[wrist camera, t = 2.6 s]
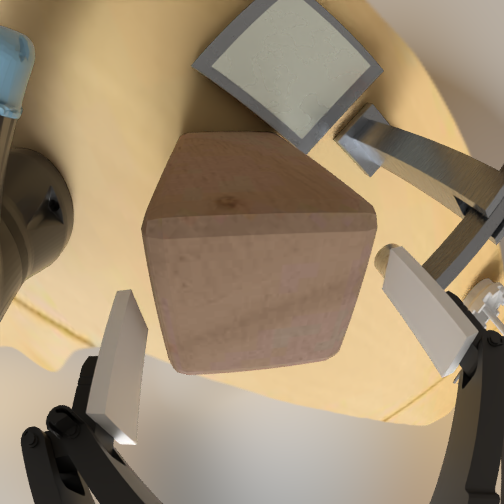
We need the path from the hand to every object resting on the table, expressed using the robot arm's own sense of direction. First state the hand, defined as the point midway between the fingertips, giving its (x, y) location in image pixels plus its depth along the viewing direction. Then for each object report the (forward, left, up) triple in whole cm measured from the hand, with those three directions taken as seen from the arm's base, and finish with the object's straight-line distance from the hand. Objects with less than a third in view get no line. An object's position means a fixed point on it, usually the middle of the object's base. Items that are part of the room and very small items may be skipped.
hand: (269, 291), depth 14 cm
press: (+1, +13, -19) cm, 23 cm away
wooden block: (0, 0, -19) cm, 19 cm away
